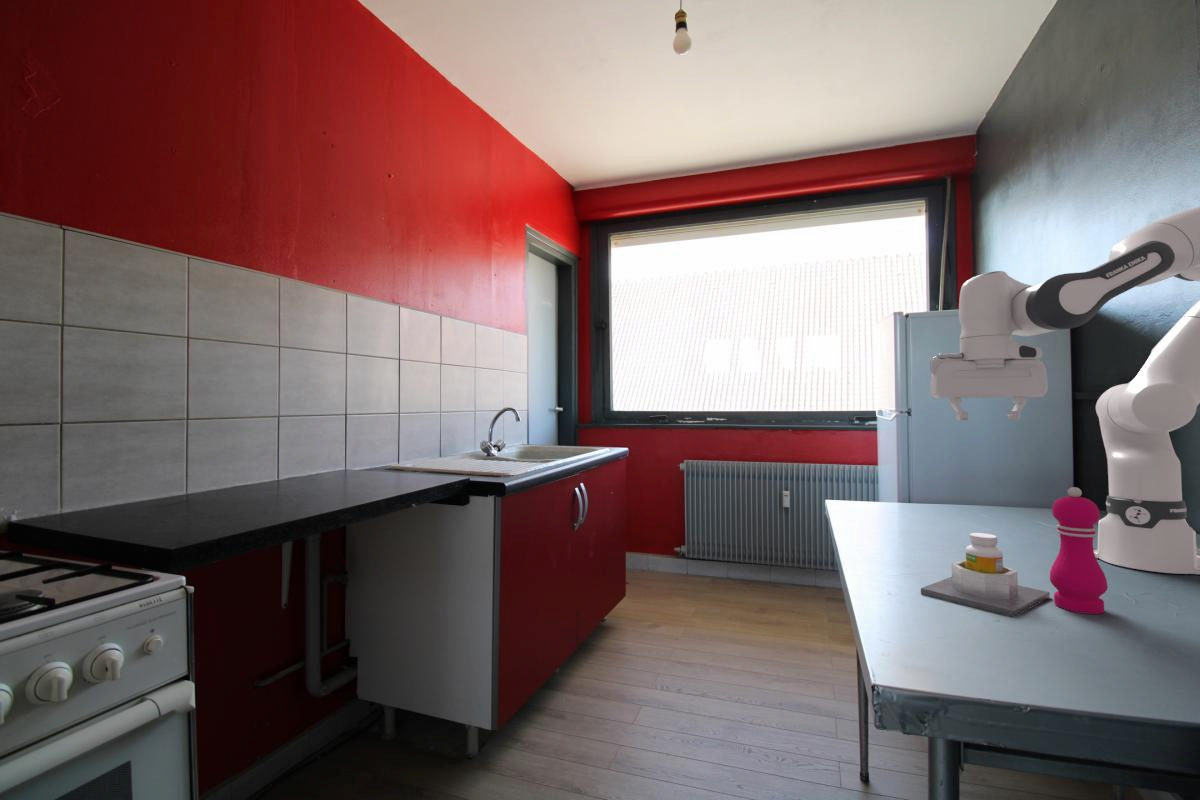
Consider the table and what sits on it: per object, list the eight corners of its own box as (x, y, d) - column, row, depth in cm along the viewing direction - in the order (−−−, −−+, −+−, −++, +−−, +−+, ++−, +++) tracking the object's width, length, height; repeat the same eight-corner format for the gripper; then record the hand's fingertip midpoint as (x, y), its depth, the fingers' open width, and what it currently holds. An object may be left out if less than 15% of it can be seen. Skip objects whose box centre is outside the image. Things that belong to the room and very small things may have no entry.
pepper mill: (1120, 617, 86) (1115, 490, 86) (1067, 614, 87) (1063, 489, 88) (1089, 601, 93) (1084, 484, 94) (1041, 599, 94) (1037, 484, 95)
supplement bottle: (960, 588, 97) (958, 534, 98) (976, 583, 100) (974, 530, 100) (994, 596, 93) (992, 539, 93) (1009, 591, 95) (1008, 536, 96)
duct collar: (960, 578, 107) (960, 552, 107) (1049, 597, 95) (1048, 569, 95) (920, 593, 98) (920, 565, 98) (1013, 617, 86) (1012, 585, 86)
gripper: (936, 352, 109) (938, 420, 109) (1051, 349, 105) (1054, 420, 105) (923, 355, 116) (925, 420, 115) (1032, 352, 112) (1034, 419, 111)
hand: (987, 420), depth 110 cm, fingers open, 8 cm apart
